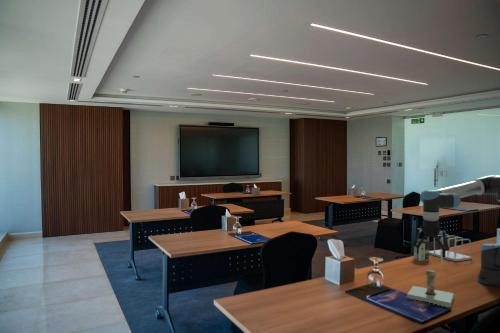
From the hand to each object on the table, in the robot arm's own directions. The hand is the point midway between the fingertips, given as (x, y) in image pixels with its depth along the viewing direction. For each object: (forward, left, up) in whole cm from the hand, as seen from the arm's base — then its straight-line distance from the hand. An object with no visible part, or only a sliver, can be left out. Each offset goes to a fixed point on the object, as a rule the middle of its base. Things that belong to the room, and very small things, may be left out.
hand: (430, 261), depth 188 cm
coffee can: (+18, -77, -20) cm, 82 cm away
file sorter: (+3, -97, -20) cm, 99 cm away
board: (0, 0, -20) cm, 20 cm away
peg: (0, 0, -20) cm, 20 cm away
